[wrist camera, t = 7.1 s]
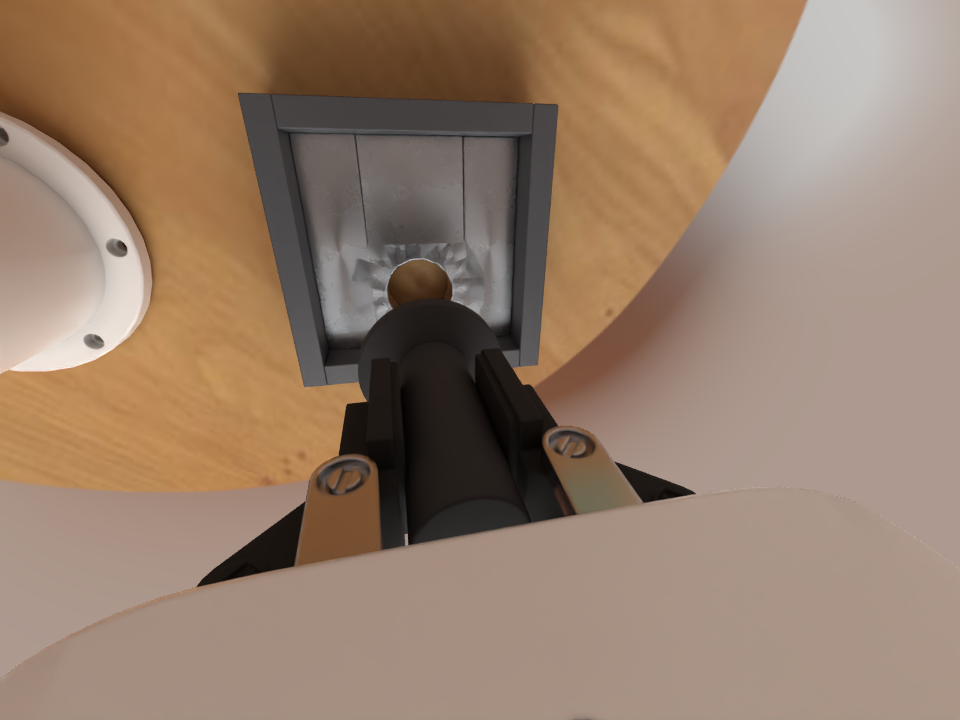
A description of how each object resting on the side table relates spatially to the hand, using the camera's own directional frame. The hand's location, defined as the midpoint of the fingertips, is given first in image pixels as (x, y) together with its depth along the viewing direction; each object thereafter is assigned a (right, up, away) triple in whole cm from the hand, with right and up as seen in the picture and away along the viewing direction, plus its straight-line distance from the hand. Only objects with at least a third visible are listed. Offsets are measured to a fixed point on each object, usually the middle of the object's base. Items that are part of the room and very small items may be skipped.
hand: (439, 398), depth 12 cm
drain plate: (-2, +8, +11) cm, 14 cm away
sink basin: (-2, +8, +11) cm, 14 cm away
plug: (-1, +2, +4) cm, 4 cm away
